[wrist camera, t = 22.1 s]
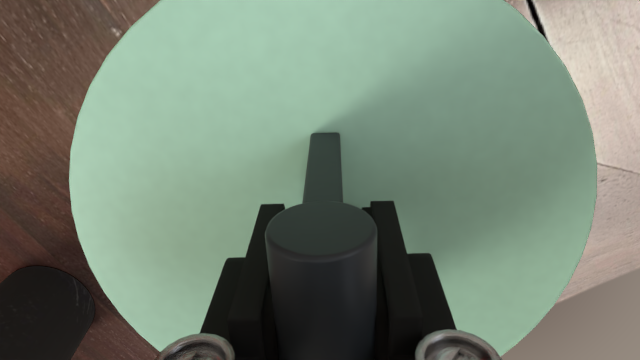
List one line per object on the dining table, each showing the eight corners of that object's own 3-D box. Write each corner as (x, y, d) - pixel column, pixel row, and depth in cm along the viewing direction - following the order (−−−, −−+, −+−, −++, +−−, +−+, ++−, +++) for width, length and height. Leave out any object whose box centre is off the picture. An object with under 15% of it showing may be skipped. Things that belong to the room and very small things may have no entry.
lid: (631, -70, 10) (1071, -116, 4) (532, 377, 16) (652, 624, 10) (23, -39, 10) (-377, -41, 5) (146, 382, 16) (41, 618, 10)
